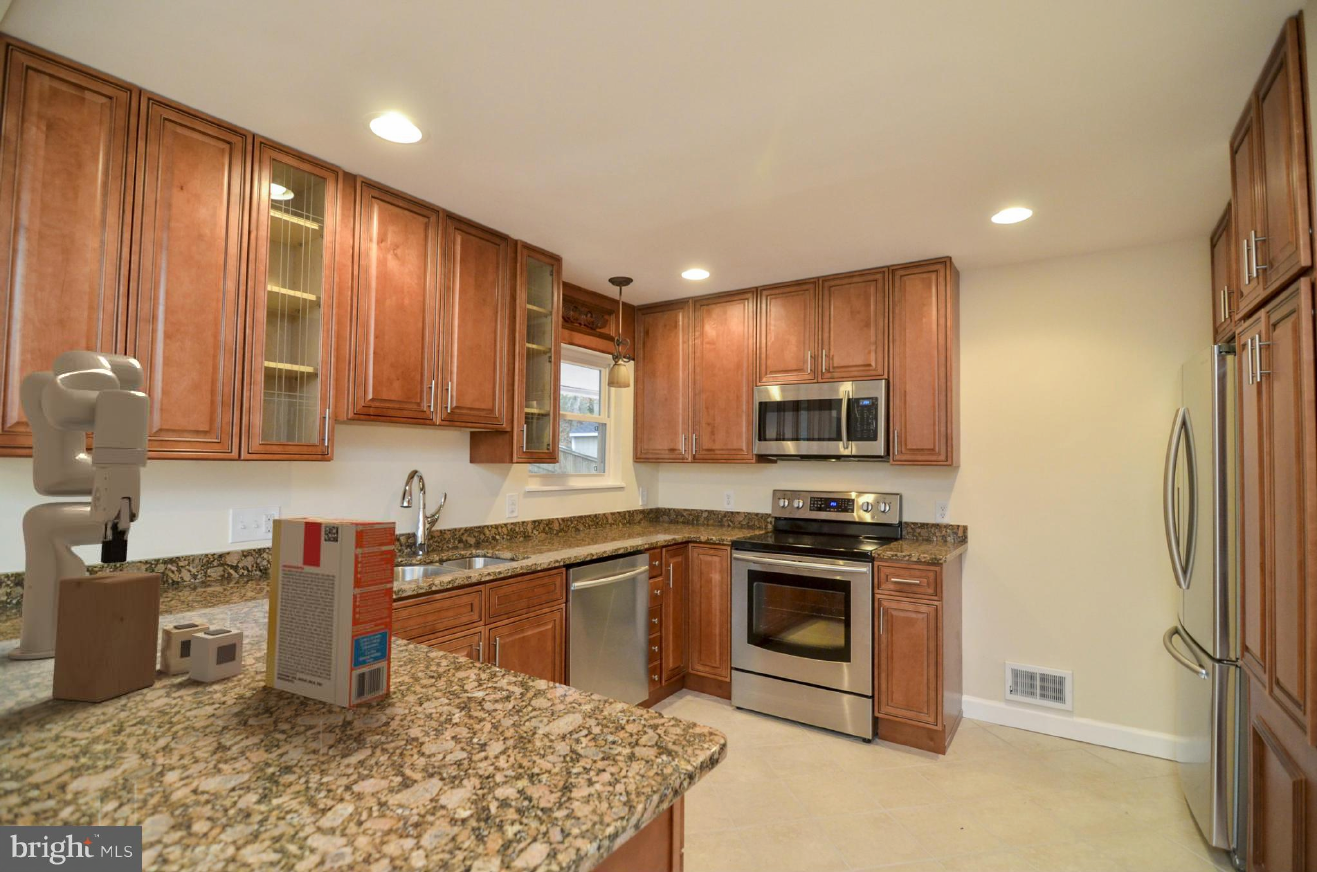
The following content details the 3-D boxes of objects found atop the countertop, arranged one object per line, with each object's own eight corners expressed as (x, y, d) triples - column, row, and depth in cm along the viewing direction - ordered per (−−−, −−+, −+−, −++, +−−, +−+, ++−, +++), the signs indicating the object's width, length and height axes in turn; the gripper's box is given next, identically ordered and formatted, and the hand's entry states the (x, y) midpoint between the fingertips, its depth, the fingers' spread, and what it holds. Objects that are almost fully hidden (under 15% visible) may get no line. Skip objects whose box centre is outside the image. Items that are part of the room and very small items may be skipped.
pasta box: (389, 693, 111) (395, 521, 113) (348, 707, 104) (355, 524, 106) (307, 673, 121) (314, 516, 123) (265, 685, 114) (272, 519, 116)
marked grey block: (188, 677, 118) (191, 632, 119) (222, 669, 124) (225, 626, 124) (208, 683, 115) (210, 637, 116) (242, 674, 121) (244, 630, 121)
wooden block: (97, 703, 104) (105, 581, 106) (50, 699, 106) (58, 579, 108) (156, 684, 114) (163, 572, 116) (112, 680, 116) (119, 570, 118)
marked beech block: (159, 669, 123) (162, 626, 124) (196, 662, 128) (198, 620, 128) (171, 675, 119) (173, 631, 120) (207, 667, 124) (210, 625, 125)
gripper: (81, 459, 114) (74, 561, 113) (104, 458, 106) (97, 569, 104) (133, 460, 120) (127, 557, 119) (159, 459, 112) (153, 564, 110)
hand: (113, 562), depth 112 cm, fingers closed
